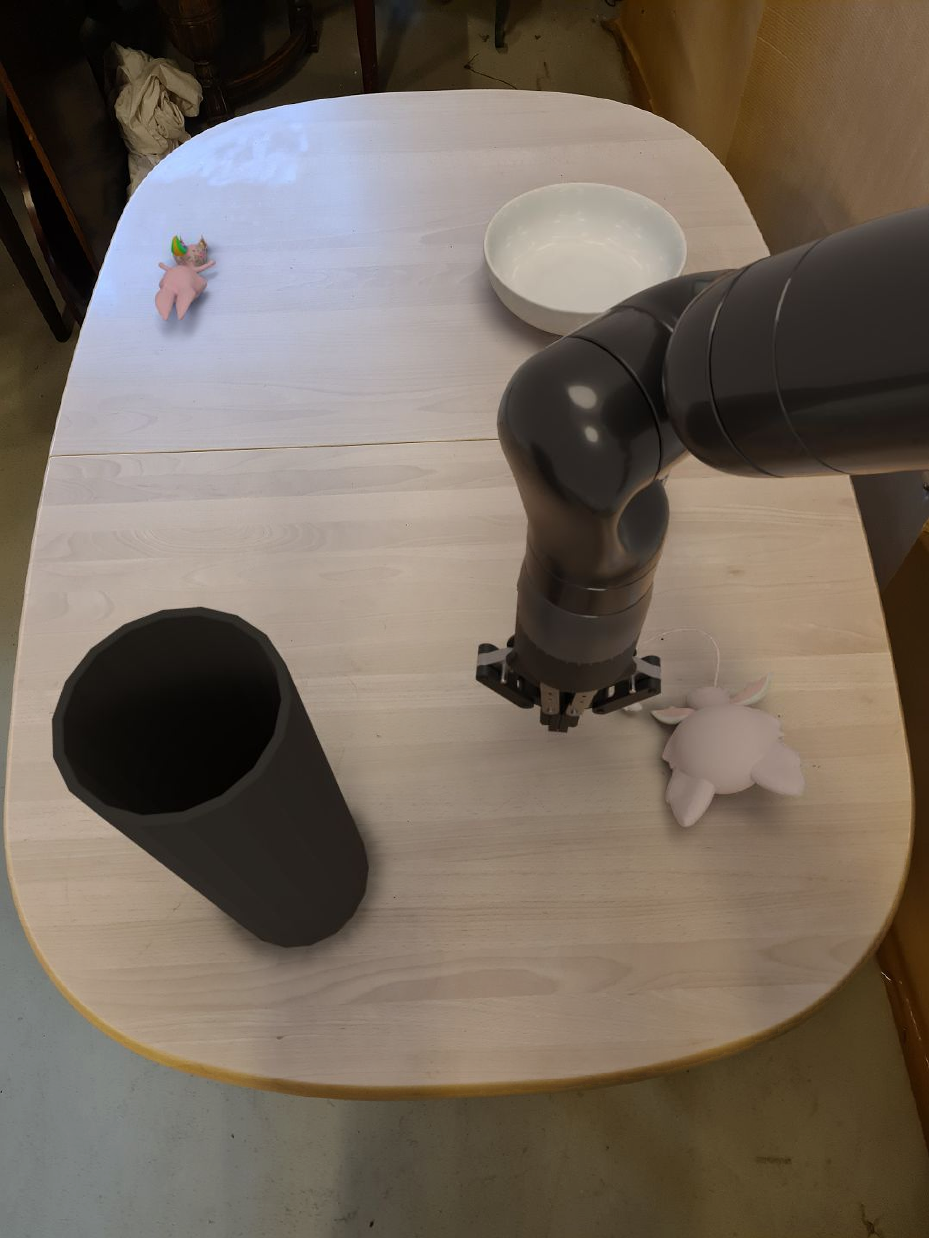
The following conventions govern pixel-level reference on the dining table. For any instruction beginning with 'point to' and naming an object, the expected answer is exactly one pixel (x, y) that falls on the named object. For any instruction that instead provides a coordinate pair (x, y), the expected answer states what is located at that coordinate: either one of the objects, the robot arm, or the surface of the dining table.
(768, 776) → the toy
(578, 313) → the serving bowl
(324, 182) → the dining table surface
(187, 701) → the vase
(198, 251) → the pink soft figure
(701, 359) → the robot arm
